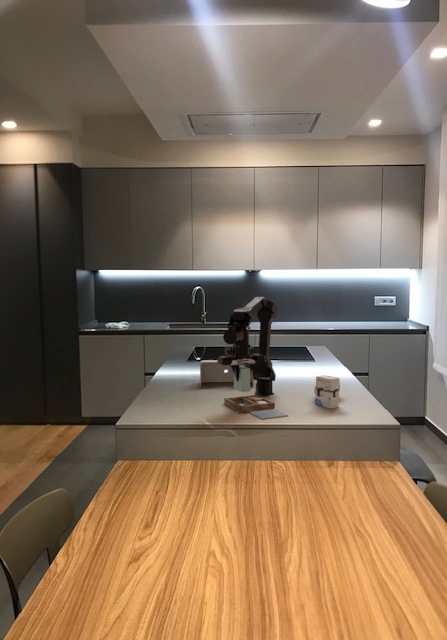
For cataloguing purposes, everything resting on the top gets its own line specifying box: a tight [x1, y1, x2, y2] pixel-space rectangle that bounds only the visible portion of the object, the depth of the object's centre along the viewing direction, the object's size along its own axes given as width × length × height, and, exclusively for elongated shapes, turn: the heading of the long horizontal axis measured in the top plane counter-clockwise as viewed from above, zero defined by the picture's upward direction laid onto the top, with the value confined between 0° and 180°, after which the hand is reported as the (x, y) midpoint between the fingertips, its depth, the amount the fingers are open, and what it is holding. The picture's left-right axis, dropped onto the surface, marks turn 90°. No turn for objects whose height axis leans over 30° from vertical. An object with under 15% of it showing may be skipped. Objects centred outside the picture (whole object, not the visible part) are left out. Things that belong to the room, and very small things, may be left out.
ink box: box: [314, 374, 341, 409], centre depth 203 cm, size 8×5×12 cm, turn 37°
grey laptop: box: [199, 359, 255, 388], centre depth 243 cm, size 25×16×12 cm, turn 92°
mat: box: [248, 408, 289, 420], centre depth 192 cm, size 11×11×1 cm
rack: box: [223, 394, 276, 414], centre depth 204 cm, size 15×15×2 cm
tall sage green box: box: [233, 365, 251, 393], centre depth 201 cm, size 4×8×9 cm, turn 23°
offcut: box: [248, 397, 262, 403], centre depth 207 cm, size 3×5×2 cm, turn 36°
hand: (241, 380), depth 202 cm, fingers closed on tall sage green box, 3 cm apart
